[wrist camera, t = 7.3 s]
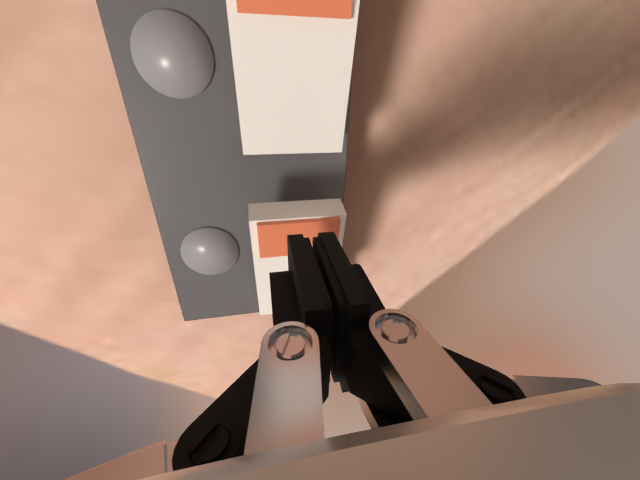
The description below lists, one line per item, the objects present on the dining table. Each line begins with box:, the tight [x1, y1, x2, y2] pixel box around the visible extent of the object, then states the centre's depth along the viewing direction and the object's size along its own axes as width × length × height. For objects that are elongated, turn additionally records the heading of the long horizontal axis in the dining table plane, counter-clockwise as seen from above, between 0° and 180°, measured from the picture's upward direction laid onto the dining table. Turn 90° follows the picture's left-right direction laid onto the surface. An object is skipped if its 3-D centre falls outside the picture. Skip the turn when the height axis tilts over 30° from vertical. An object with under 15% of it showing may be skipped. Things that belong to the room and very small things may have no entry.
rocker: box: [248, 198, 347, 315], centre depth 15 cm, size 6×4×1 cm, turn 178°
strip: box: [96, 0, 353, 321], centre depth 12 cm, size 26×9×3 cm, turn 179°
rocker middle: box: [226, 0, 360, 155], centre depth 10 cm, size 6×4×1 cm, turn 178°
